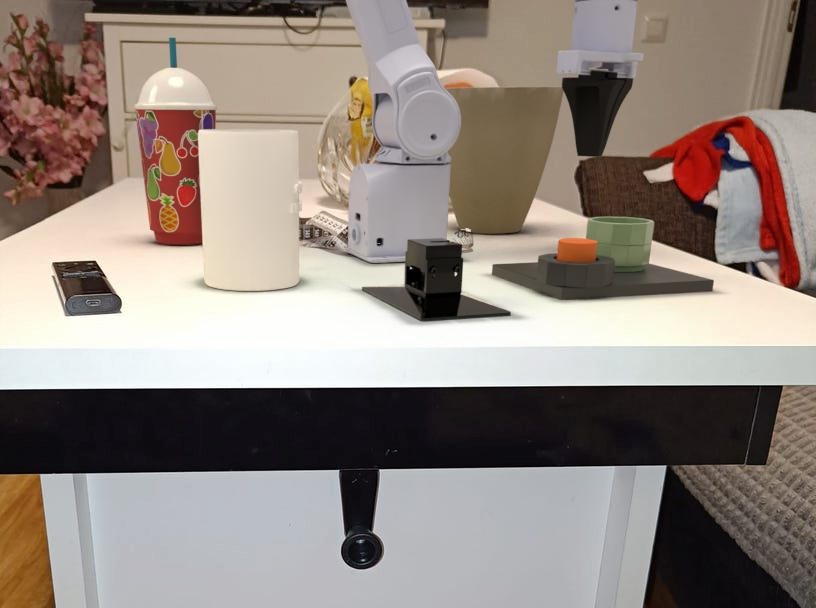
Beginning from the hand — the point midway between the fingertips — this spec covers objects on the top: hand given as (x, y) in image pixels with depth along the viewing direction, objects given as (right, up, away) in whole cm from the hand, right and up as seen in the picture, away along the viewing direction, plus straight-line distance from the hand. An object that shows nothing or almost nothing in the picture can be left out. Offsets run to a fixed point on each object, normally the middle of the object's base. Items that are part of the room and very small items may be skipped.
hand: (589, 156), depth 92 cm
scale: (-3, -15, -13) cm, 20 cm away
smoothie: (-42, -6, +9) cm, 43 cm away
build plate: (-18, -19, -21) cm, 33 cm away
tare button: (-6, -15, -18) cm, 24 cm away
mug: (-33, -15, -12) cm, 38 cm away
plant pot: (-7, -2, +20) cm, 21 cm away
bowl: (-1, -14, -11) cm, 18 cm away
